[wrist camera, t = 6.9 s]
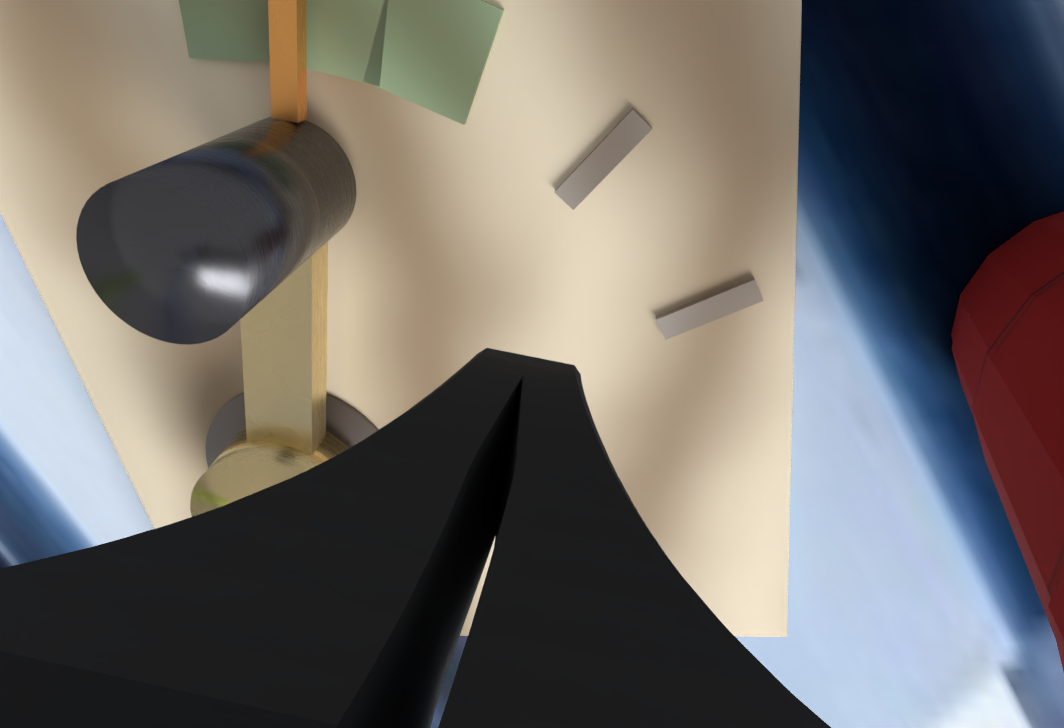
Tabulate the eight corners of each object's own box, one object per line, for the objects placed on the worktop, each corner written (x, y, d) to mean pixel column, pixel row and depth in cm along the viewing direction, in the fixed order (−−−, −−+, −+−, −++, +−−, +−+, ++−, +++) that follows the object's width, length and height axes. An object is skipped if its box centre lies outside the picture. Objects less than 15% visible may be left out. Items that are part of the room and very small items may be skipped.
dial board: (219, 613, 27) (202, 639, 26) (-75, -18, 18) (-120, -16, 17) (781, 611, 24) (787, 641, 23) (796, -184, 14) (808, -195, 13)
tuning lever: (367, 550, 23) (295, 707, 18) (230, 521, 23) (121, 670, 18) (397, -49, 15) (280, -54, 10) (186, -86, 15) (-30, -108, 10)
